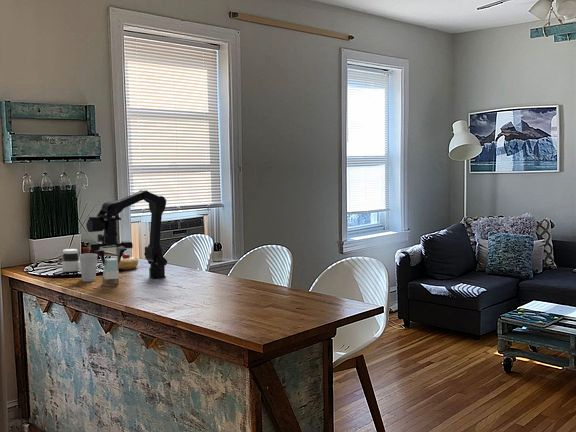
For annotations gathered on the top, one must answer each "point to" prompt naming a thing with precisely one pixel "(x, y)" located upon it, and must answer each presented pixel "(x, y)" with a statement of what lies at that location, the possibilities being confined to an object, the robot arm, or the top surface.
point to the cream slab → (110, 274)
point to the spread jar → (70, 261)
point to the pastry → (127, 262)
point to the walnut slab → (110, 282)
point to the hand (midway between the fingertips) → (110, 264)
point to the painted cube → (111, 264)
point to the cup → (88, 266)
